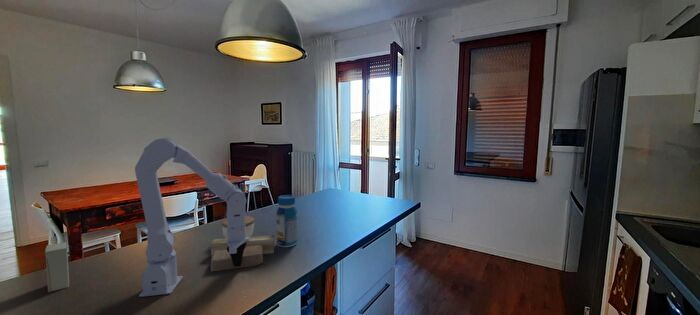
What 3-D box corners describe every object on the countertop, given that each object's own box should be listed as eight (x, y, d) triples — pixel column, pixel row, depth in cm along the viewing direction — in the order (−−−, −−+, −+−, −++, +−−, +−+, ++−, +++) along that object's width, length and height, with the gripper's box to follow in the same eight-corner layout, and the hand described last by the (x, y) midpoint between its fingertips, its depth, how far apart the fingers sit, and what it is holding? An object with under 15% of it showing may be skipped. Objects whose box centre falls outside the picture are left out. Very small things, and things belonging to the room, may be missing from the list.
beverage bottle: (295, 248, 111) (294, 199, 109) (274, 248, 111) (273, 198, 109) (299, 240, 120) (298, 194, 118) (279, 239, 119) (278, 194, 118)
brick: (210, 272, 92) (210, 259, 91) (214, 261, 99) (213, 249, 99) (262, 266, 97) (262, 253, 96) (262, 256, 105) (262, 244, 104)
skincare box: (49, 284, 83) (45, 245, 82) (70, 279, 86) (67, 241, 85) (47, 293, 79) (44, 251, 78) (69, 287, 82) (66, 247, 81)
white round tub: (254, 234, 126) (253, 210, 125) (255, 244, 114) (254, 218, 113) (223, 237, 121) (222, 213, 120) (221, 249, 110) (220, 221, 109)
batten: (273, 252, 106) (273, 239, 106) (211, 258, 102) (210, 243, 101) (274, 248, 110) (273, 235, 110) (214, 253, 106) (213, 239, 105)
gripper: (245, 232, 85) (247, 275, 86) (252, 218, 99) (253, 255, 101) (221, 234, 84) (222, 277, 85) (231, 219, 98) (232, 256, 99)
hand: (237, 265), depth 93 cm, fingers closed
